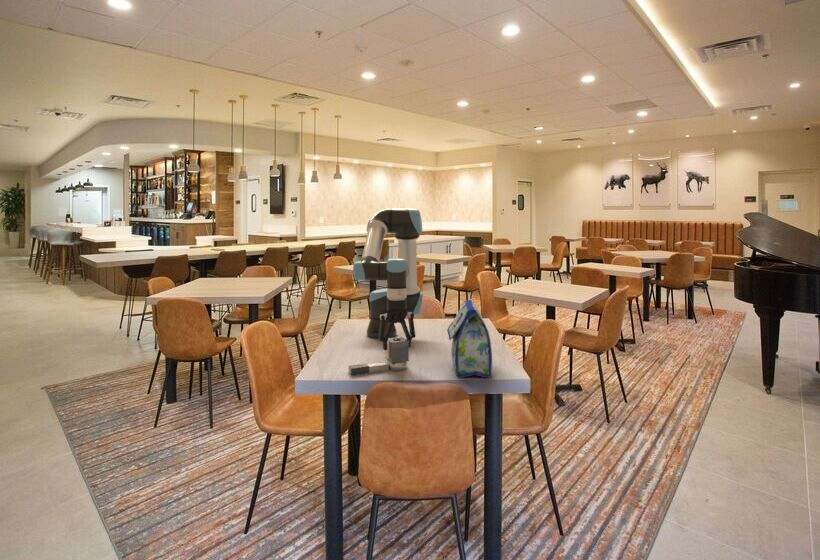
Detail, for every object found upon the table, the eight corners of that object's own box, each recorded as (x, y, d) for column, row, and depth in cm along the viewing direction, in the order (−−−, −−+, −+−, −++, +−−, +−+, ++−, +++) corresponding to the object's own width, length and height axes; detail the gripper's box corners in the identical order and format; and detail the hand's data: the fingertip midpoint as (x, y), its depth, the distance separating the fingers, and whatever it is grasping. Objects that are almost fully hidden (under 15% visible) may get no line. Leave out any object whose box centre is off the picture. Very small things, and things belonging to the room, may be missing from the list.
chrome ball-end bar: (347, 370, 183) (346, 351, 182) (402, 364, 192) (402, 345, 191) (352, 377, 176) (352, 357, 175) (410, 369, 185) (410, 350, 184)
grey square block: (385, 358, 189) (385, 337, 188) (401, 356, 191) (401, 336, 190) (391, 363, 182) (391, 341, 181) (408, 361, 185) (408, 340, 184)
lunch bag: (446, 361, 196) (447, 298, 193) (487, 362, 195) (488, 298, 192) (449, 379, 174) (450, 308, 171) (495, 379, 173) (496, 308, 170)
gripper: (374, 302, 176) (375, 362, 179) (424, 298, 184) (424, 356, 187) (368, 299, 183) (369, 357, 186) (416, 295, 191) (416, 351, 194)
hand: (397, 356), depth 187 cm, fingers open, 7 cm apart
